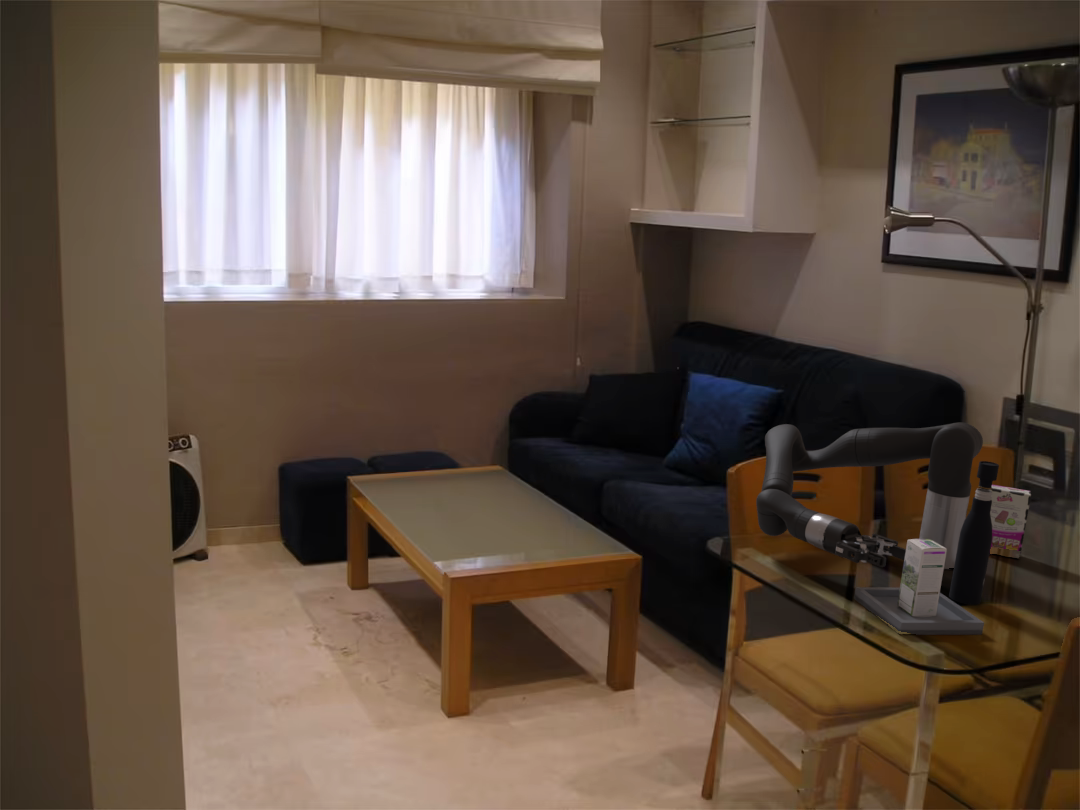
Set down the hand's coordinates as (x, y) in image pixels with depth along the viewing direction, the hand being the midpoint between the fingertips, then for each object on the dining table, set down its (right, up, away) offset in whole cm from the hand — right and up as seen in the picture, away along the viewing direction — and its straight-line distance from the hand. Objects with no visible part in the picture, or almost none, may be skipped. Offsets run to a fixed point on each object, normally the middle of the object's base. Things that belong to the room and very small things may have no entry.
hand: (897, 559), depth 224 cm
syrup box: (+3, -10, -3) cm, 11 cm away
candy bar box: (+38, -5, +44) cm, 59 cm away
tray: (+3, -11, -3) cm, 12 cm away
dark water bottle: (+18, -10, +10) cm, 22 cm away
